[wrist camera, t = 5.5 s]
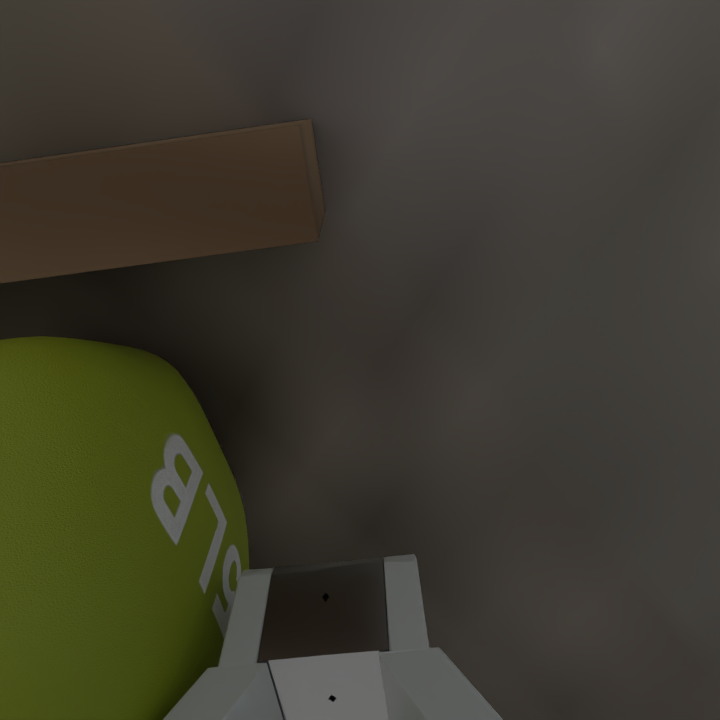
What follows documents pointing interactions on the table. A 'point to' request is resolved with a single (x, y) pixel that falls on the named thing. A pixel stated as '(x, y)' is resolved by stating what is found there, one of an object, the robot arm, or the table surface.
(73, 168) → the beam slot
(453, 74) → the table surface
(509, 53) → the table surface
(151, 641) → the dumbbell
